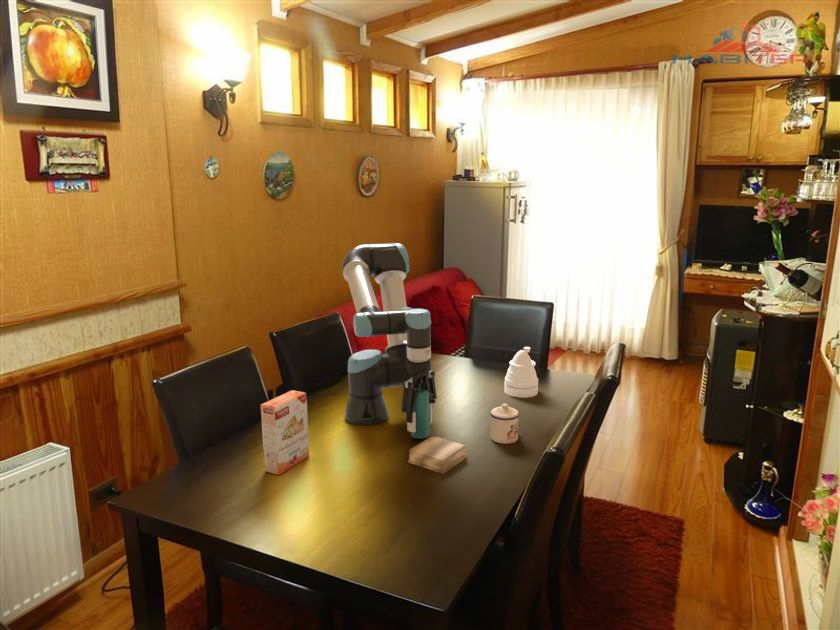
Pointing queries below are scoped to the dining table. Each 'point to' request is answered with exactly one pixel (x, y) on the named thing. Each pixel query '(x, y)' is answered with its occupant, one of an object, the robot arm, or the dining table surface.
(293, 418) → the cracker box
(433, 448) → the tan flat square block
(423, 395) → the beverage bottle
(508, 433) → the teacup with lid
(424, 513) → the dining table surface
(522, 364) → the honey pot
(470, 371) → the dining table surface
